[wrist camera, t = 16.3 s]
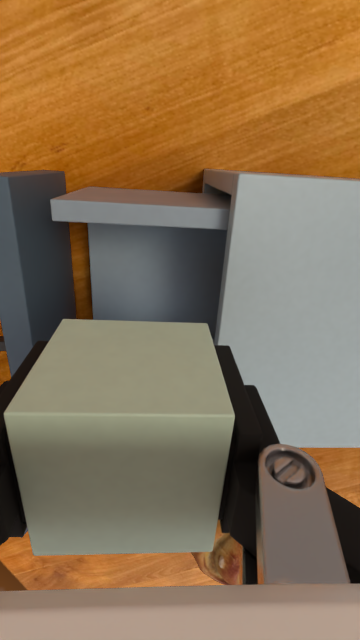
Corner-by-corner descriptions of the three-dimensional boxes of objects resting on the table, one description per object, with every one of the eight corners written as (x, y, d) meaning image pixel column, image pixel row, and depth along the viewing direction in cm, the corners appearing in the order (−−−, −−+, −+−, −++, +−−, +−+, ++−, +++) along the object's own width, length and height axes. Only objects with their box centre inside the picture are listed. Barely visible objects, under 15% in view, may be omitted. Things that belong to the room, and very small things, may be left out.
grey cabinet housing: (189, 350, 25) (204, 447, 17) (204, 168, 20) (238, 172, 11) (371, 354, 26) (475, 448, 18) (432, 183, 21) (625, 197, 12)
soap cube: (73, 430, 12) (32, 556, 8) (62, 318, 10) (2, 413, 6) (196, 430, 12) (213, 552, 8) (207, 322, 10) (235, 415, 6)
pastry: (331, 525, 36) (375, 617, 28) (198, 559, 37) (208, 655, 30) (314, 439, 30) (363, 527, 23) (158, 483, 31) (158, 579, 24)
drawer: (-11, 344, 23) (-85, 424, 16) (-49, 164, 18) (-180, 165, 11) (248, 350, 24) (284, 426, 17) (277, 184, 20) (342, 196, 13)
